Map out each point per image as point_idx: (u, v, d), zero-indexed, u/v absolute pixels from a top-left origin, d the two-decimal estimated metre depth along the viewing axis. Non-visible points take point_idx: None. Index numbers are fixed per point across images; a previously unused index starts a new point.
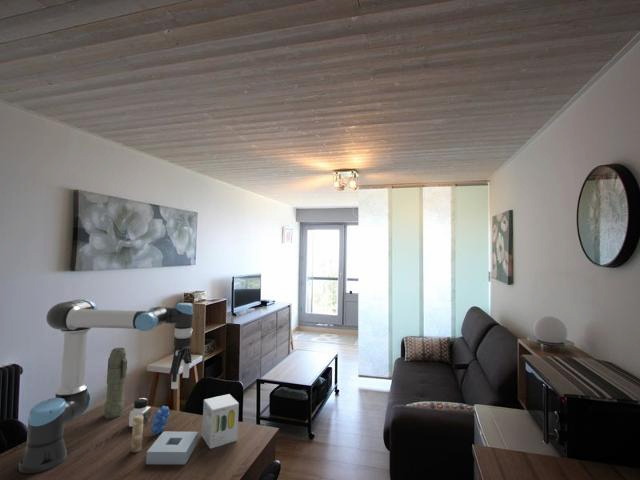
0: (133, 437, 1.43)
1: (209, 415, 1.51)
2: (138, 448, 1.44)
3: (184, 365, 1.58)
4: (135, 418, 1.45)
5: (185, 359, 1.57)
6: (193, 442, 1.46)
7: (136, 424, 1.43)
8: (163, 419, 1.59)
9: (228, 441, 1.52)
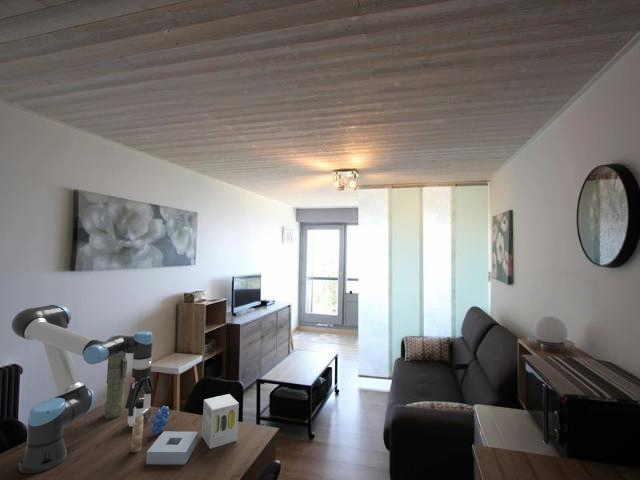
0: (133, 437, 1.43)
1: (209, 414, 1.51)
2: (138, 448, 1.44)
3: (145, 396, 1.52)
4: (135, 418, 1.45)
5: (146, 389, 1.51)
6: (193, 442, 1.46)
7: (136, 424, 1.43)
8: (163, 419, 1.59)
9: (228, 441, 1.52)
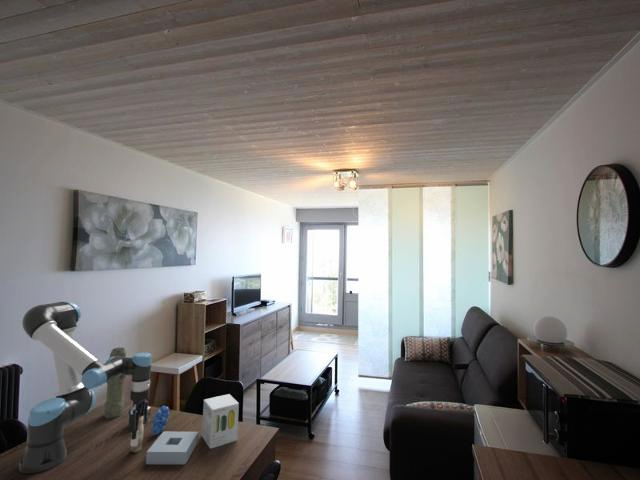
0: None
1: (209, 414, 1.51)
2: (138, 448, 1.44)
3: None
4: None
5: None
6: (193, 442, 1.46)
7: None
8: (163, 419, 1.59)
9: (228, 441, 1.52)
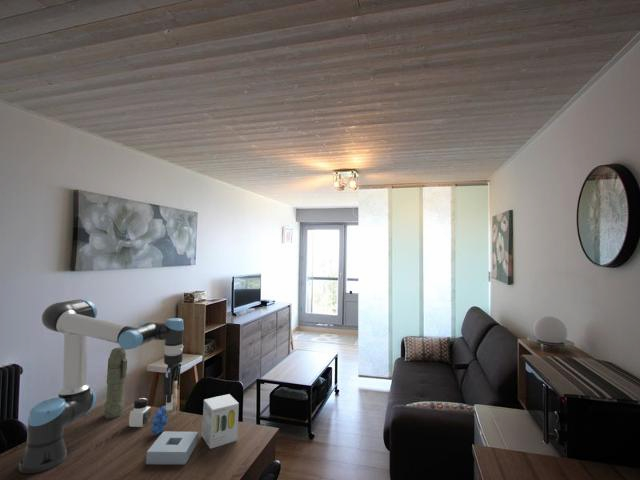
0: None
1: (209, 414, 1.51)
2: (173, 412, 1.43)
3: None
4: None
5: None
6: (193, 442, 1.46)
7: None
8: (163, 419, 1.59)
9: (228, 441, 1.52)
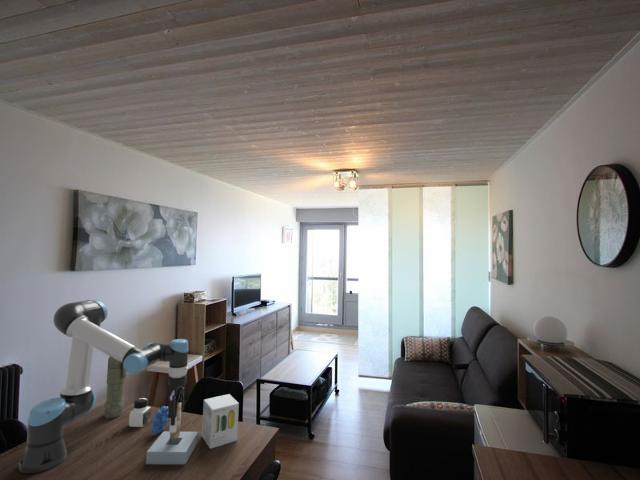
0: None
1: (209, 414, 1.51)
2: (177, 434, 1.43)
3: None
4: None
5: None
6: (193, 442, 1.46)
7: None
8: (163, 419, 1.59)
9: (228, 441, 1.52)
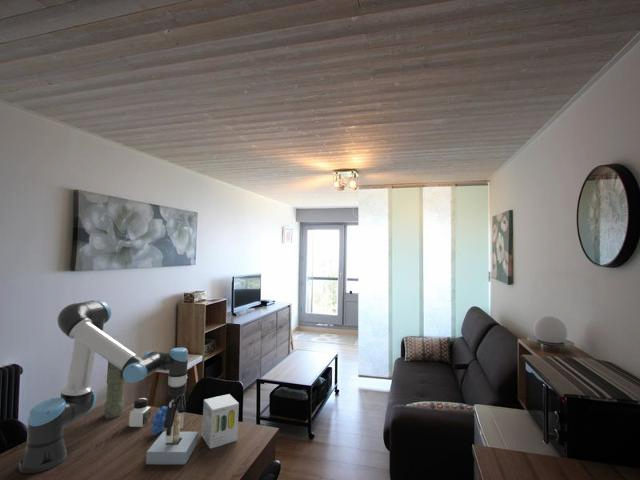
0: None
1: (209, 414, 1.51)
2: None
3: (178, 415, 1.50)
4: None
5: (179, 408, 1.49)
6: (193, 442, 1.46)
7: (174, 424, 1.42)
8: (163, 419, 1.59)
9: (228, 441, 1.52)
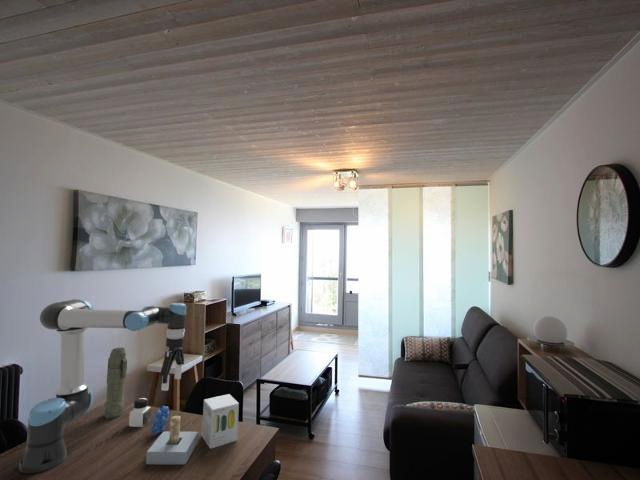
0: (171, 437, 1.42)
1: (209, 414, 1.51)
2: None
3: (176, 366, 1.56)
4: (173, 418, 1.44)
5: (177, 360, 1.55)
6: (193, 442, 1.46)
7: (174, 425, 1.42)
8: (163, 419, 1.59)
9: (228, 441, 1.52)
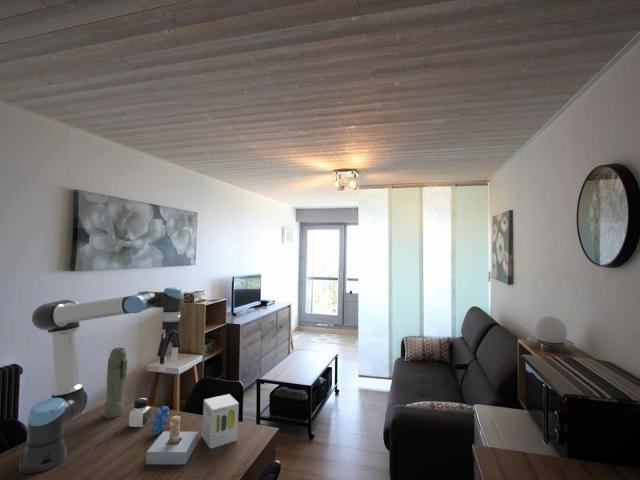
0: (171, 438, 1.42)
1: (209, 414, 1.51)
2: None
3: (172, 349, 1.61)
4: (172, 418, 1.43)
5: (173, 343, 1.60)
6: (193, 442, 1.46)
7: (174, 425, 1.42)
8: (163, 419, 1.59)
9: (228, 441, 1.52)
